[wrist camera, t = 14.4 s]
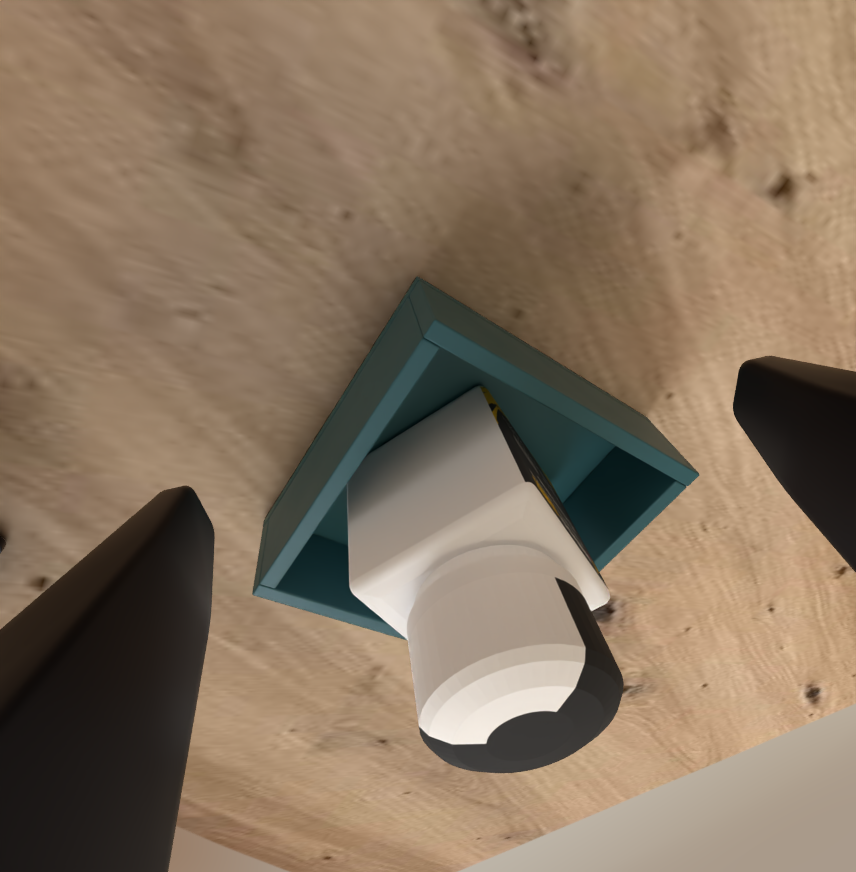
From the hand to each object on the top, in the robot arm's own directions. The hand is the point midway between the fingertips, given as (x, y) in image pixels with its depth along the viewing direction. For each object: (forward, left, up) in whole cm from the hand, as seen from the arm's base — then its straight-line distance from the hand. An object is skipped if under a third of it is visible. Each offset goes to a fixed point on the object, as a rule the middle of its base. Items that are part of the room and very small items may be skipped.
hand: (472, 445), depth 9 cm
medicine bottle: (-6, -9, -13) cm, 16 cm away
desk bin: (-5, -9, -13) cm, 17 cm away
